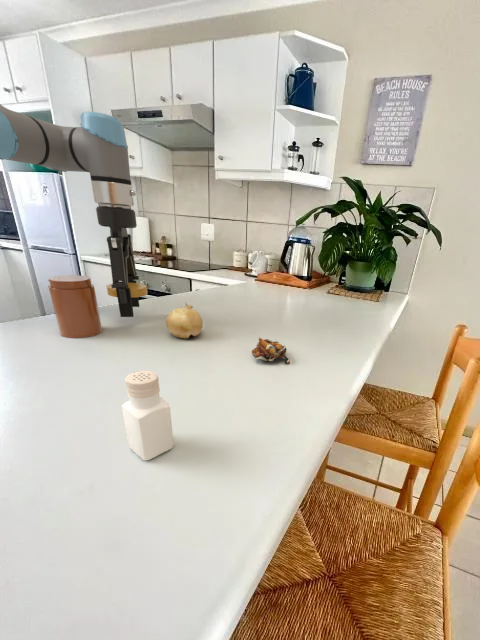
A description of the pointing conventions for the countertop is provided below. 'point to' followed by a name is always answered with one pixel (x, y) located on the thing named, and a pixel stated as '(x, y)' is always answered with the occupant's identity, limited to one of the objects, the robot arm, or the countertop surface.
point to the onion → (184, 322)
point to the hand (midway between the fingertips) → (130, 311)
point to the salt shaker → (147, 416)
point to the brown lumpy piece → (270, 350)
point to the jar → (75, 306)
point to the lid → (135, 290)
